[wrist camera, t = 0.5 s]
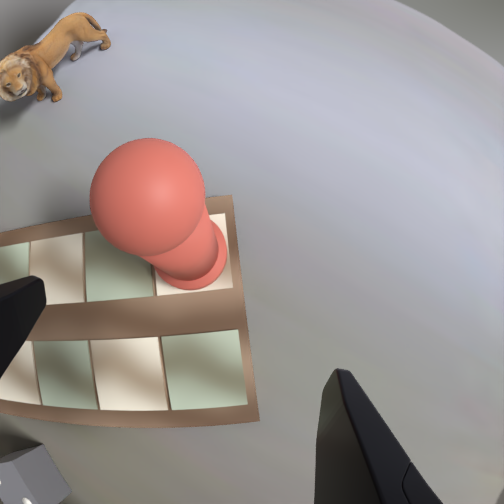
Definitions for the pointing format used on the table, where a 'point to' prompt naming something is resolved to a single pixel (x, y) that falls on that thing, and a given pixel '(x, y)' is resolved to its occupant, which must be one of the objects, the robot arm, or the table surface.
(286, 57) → the table surface
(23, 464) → the die
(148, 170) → the pawn
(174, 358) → the board
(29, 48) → the lion figurine
